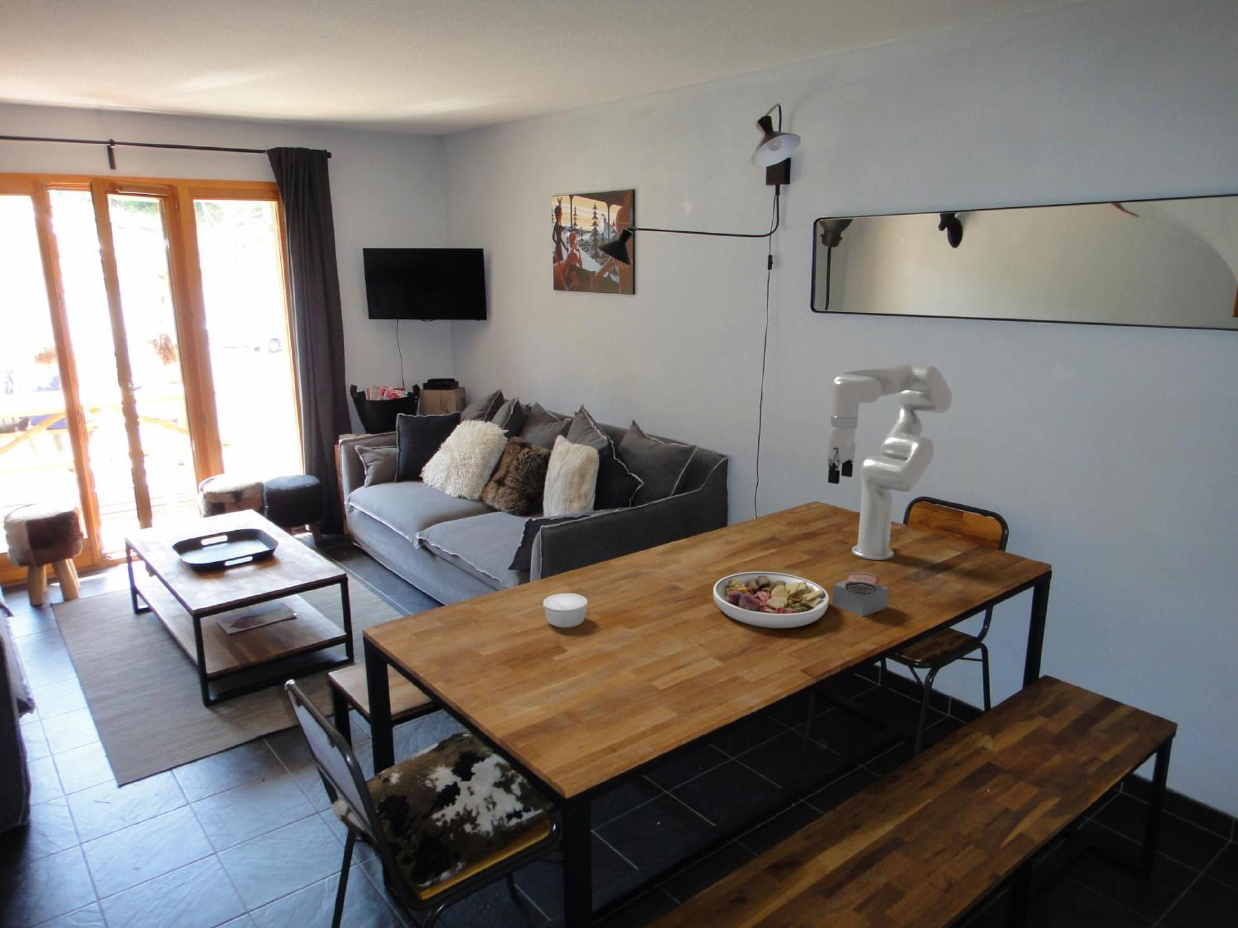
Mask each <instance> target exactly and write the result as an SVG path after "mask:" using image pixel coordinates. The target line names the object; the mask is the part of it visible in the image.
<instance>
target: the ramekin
mask: <svg viewBox="0 0 1238 928" xmlns="http://www.w3.org/2000/svg"><path fill="white" fill-rule="evenodd" d="M588 605H589V602H588V599H587V598H586V597H585V596H583V595H581V594H577V593H569V592H567V593H566V592H565V593H563V592H561V593H556V594H552V595H550V596H547V597H546V598H544V600H543V602H542V606H543V609H544V613H545V618H546V620H547V622H548V624H550V625H551V626H554V627H557V628H573V627H577V626H579V625H581V624H582V623H583V622H584V620H585V619H586V613H587V607H588Z"/></svg>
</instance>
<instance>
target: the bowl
mask: <svg viewBox="0 0 1238 928" xmlns="http://www.w3.org/2000/svg"><path fill="white" fill-rule="evenodd" d="M712 595H713V599H714V602H715V604H716V605H717V607H718V608H719V610H720V611H722V612H723V614H724V615H727V617H730V618H731V619H734V620H736V621H738V622H741V623H744V624H747V625H751V626H754V627H755V626H756V627H760V628H769V629H790V628H798V627H802V626H806V625H808V624H812V623H814V622H816V621H817V620H819V619H820V618H821V617H822V616H823V615H824V614H825V613H826V611H827V609H828V607H829V601H830V596H829V594H828V592H827V590H825V588H824V587H822V586H821V585H819V584H817V583H815V582H813V581H812V580H809V579H807V578H804V577H803V578H802V577H800V576H796V575H792V574H788V573H781V572H772V571H747V572H739V573H735V574H731V575H727V576H725V577H723V578H720V579H719V580H717V581H716V583H715V584H714V585H713V593H712Z"/></svg>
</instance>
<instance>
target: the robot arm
mask: <svg viewBox="0 0 1238 928" xmlns="http://www.w3.org/2000/svg"><path fill="white" fill-rule="evenodd" d="M831 391H832V397H831V412H830V413H831V414H830V425H829V426H830V432H829V437H828V443H827V451H826V460H827V462H828V463H827V465H828V466H827V467H828V468H827V469H828V474H827V475H828V476H827V483H829V484H835V485H838V484H840V476H841V477H845V478H852V477H853V470H854V469H853V467H854V457H855V452H856V429H858V423H859V409H860V404H871V403H872V404H873V403H874V402H876V401H877V400H879V399H880V398H881V397H885V396H887V397H888V396H889V397H890V396H892V395H895V394H896V413H897V415H896V416H897V417H896V421H895V423H894V424H893V425H892V427H891V429H890V431H889V432H888V433H887V435H886V436H885V438H884V439H883V441H882V443H881V445H880V448H879V453H880V455H869V456H868V457H866V458H865V459H863V461H862V462H861V465H860V471H859V472H860V483H861V498H860V499H861V501H860V513H859V522H858V524H859V526H858V538H857V544H856V545H854V546H853V547H852V549H851V552H852V554H854V555H855V556H857V557H860V558H862V559H866V560H873V561H881V560H882V561H885V560H889V559H891V558H893V557H894V551H893V549H891V548H890V541H891V530H892V529H891V527H892V516H893V507H894V499H893V496H892V493H891V491H895V492H901V493H910V492H912V491H914V489H915V488H916V487H917V486H918V484H919V482H920V480H921V479H922V477H923V476H924V475H925V472H926V471H927V470H928V468H929V466H930V465H931V462H932V461H933V457H934V455H935V445H934V442H933V441H932V440H931V439H930V438H928V437H927V436H923V435H921V434H922V432H923V424H922V421H921V419H920V417H919V416H918V414H917V413H918V412H919V411H920V412H924V413H925V412H927V413H934V414H943V413H945V412H948V410H949V409H950V408H951V406H952V403H953V395H952V390H951V388H950V387H949V385H948V383H947V381H946V379H945V378H944V376H943V375H942V373H941V372H940V371H939V370H938V368H936V367H935V366H934V365H930V364H922V363H912V362H903V363H898V364H894V365H890V366H886V367H881V368H879V367H878V368H871V369H857V370H850V371H845V372H841V373H840V374H837V376H835V378H834V379H833V380H832V384H831ZM917 411H918V412H917ZM840 468H841V469H840Z"/></svg>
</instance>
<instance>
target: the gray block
mask: <svg viewBox="0 0 1238 928" xmlns="http://www.w3.org/2000/svg"><path fill="white" fill-rule="evenodd" d="M847 580H848V579H846V580H843V581H840V582H837V583H834V584H833V590H832V591H833V592H832V602H831V604H832V605H833V606H835V607H838V608H840V609H842V610H846V611H848V612H850V613H853V614H855V615H858V616H860V617H862V618H863V617H865V616H868V615H871V614H873V613H876V612H879V611H882V610H884V609H887V607H888V596H889V587H887V586H883V585H881V584H879V583H878V585H877V591H876V593H875V594H856V593H852V592H848V591H847V590H846V589H845V584H846V582H847Z"/></svg>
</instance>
